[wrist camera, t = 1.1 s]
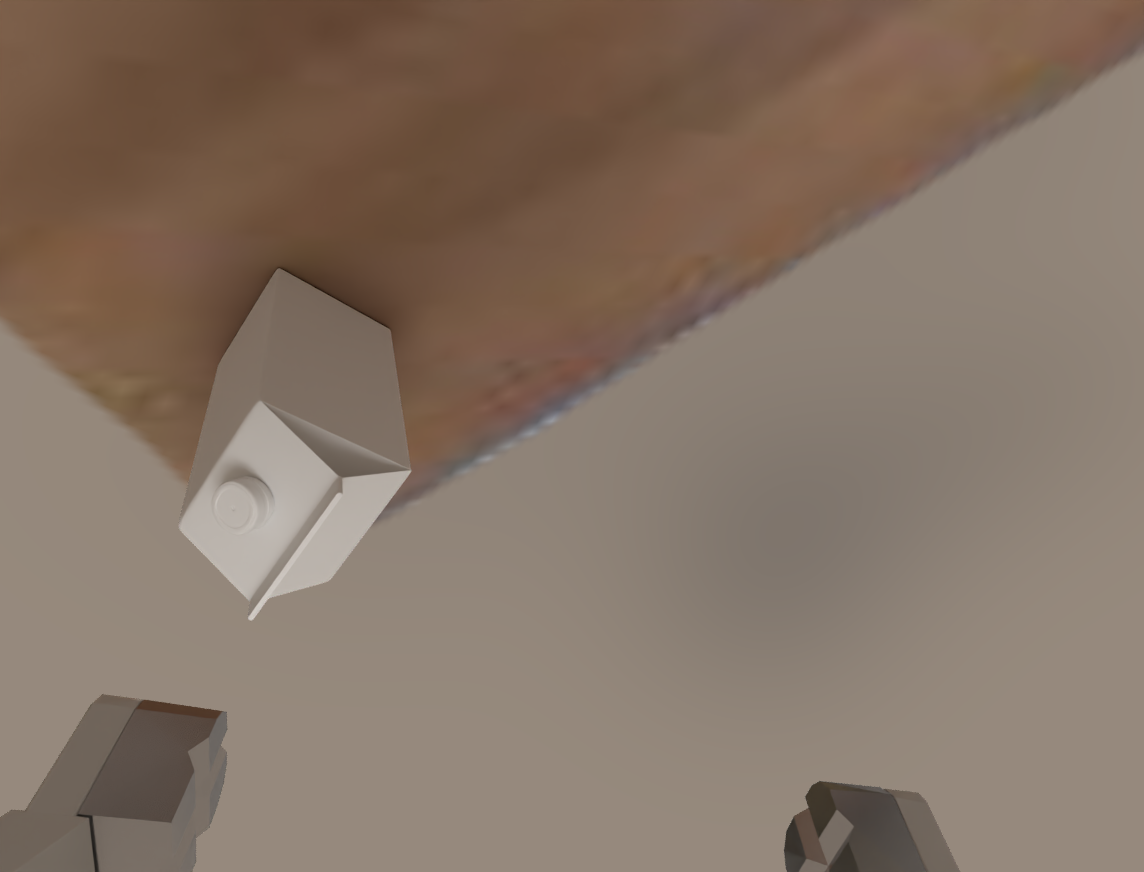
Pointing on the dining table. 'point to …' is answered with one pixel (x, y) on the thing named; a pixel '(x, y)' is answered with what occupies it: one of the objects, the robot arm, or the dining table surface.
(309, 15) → the dining table surface
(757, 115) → the dining table surface
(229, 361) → the milk carton
